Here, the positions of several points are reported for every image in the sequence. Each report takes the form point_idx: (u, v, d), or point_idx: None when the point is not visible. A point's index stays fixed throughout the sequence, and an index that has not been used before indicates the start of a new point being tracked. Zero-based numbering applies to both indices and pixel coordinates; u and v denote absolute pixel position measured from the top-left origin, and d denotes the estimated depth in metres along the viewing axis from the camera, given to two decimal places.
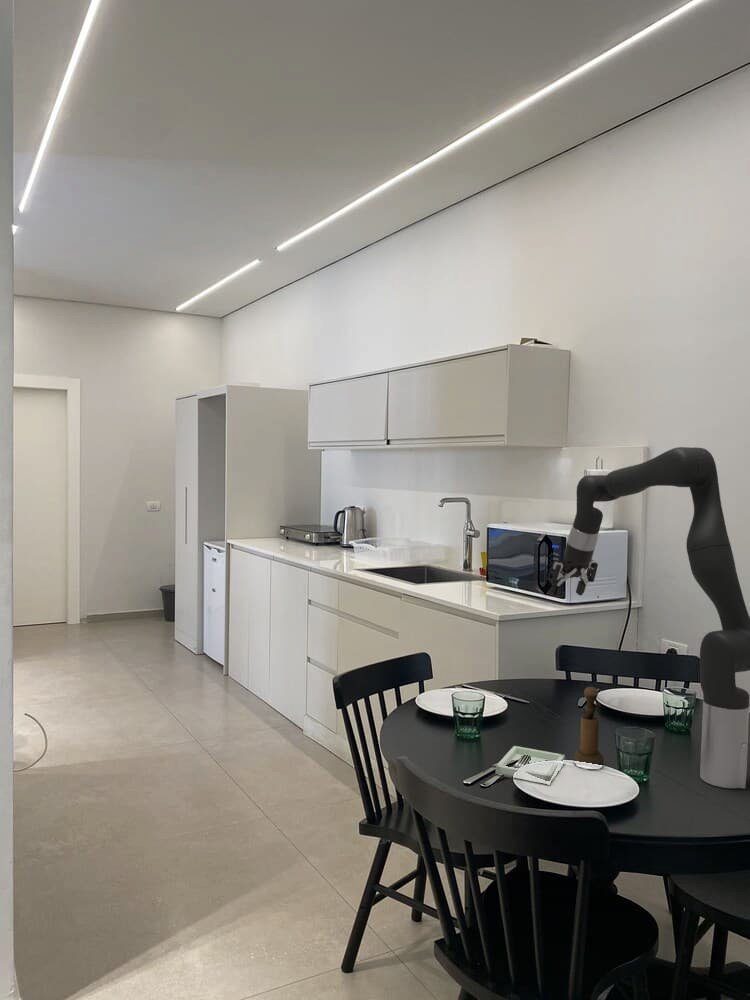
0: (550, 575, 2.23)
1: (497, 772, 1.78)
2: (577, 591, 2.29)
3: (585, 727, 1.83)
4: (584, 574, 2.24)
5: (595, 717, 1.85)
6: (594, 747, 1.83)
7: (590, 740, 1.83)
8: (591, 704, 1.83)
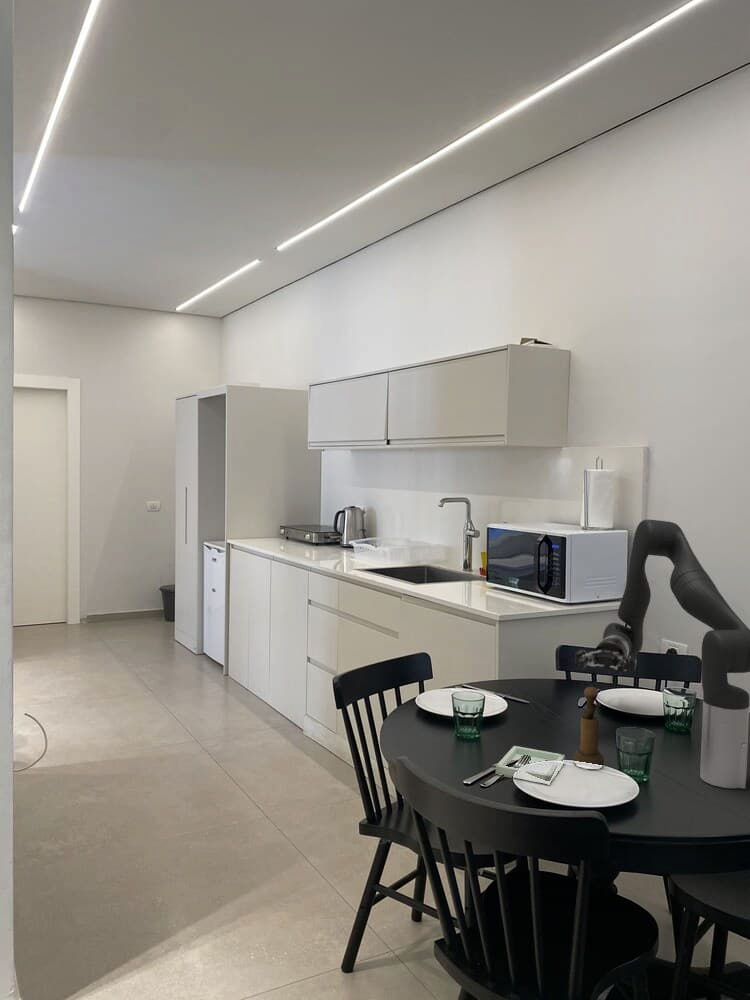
0: None
1: (497, 772, 1.78)
2: None
3: (585, 727, 1.83)
4: (617, 654, 1.99)
5: (595, 717, 1.85)
6: (594, 747, 1.83)
7: (590, 740, 1.83)
8: (591, 704, 1.83)
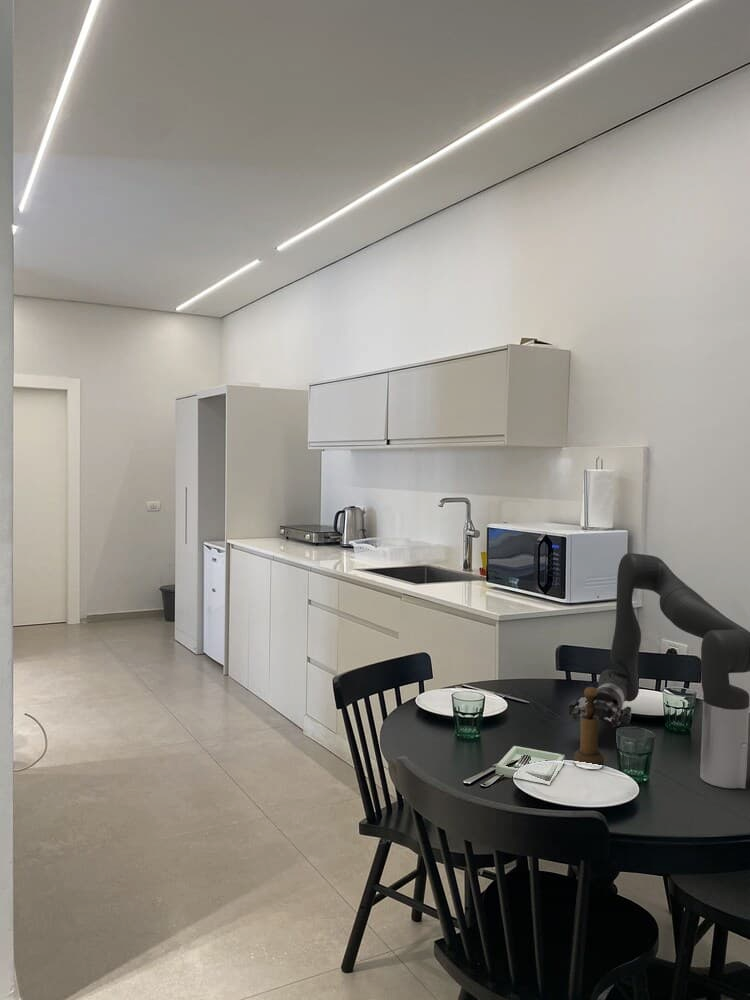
0: None
1: (497, 772, 1.78)
2: None
3: (585, 727, 1.83)
4: (611, 706, 1.94)
5: (595, 717, 1.85)
6: (594, 747, 1.83)
7: (590, 740, 1.83)
8: (591, 704, 1.83)
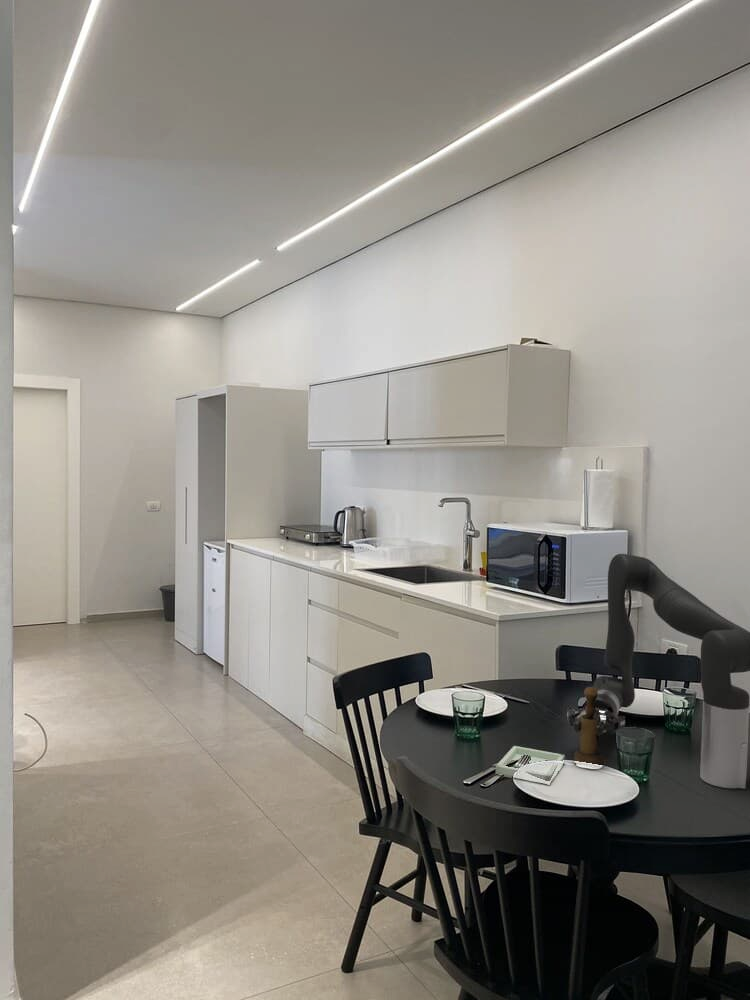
0: None
1: (497, 772, 1.78)
2: (596, 732, 1.82)
3: (585, 727, 1.83)
4: (602, 713, 1.88)
5: (595, 717, 1.85)
6: (594, 747, 1.83)
7: (590, 740, 1.83)
8: (592, 704, 1.83)
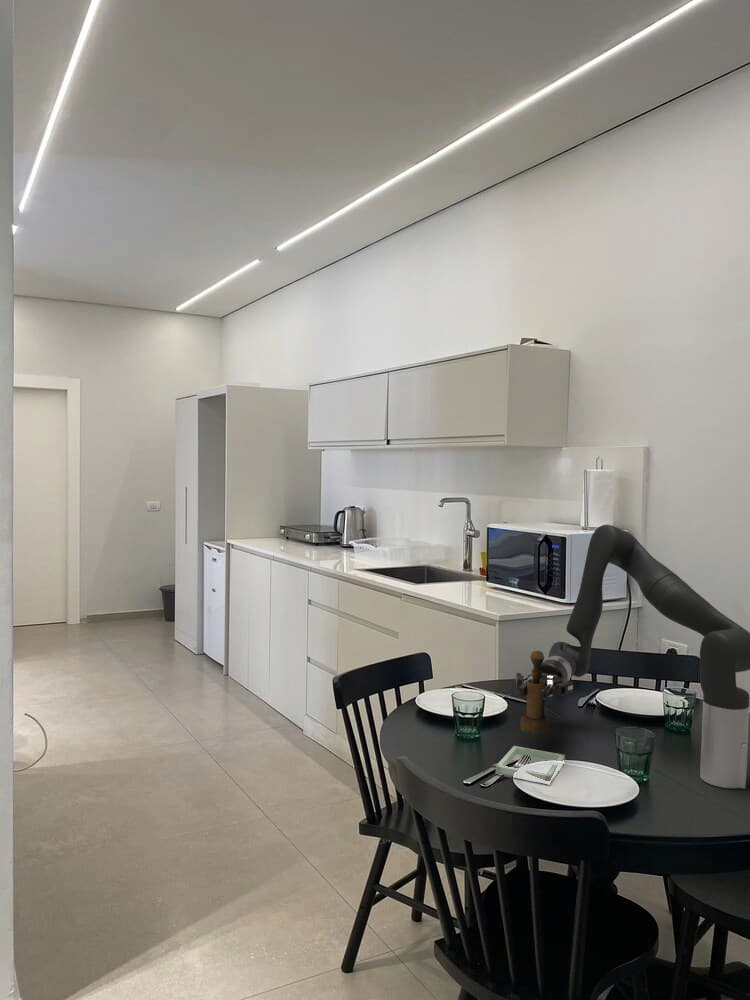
0: None
1: (497, 772, 1.78)
2: None
3: (530, 692, 1.80)
4: (550, 678, 1.85)
5: (542, 681, 1.82)
6: (539, 712, 1.80)
7: (536, 705, 1.80)
8: (538, 668, 1.81)
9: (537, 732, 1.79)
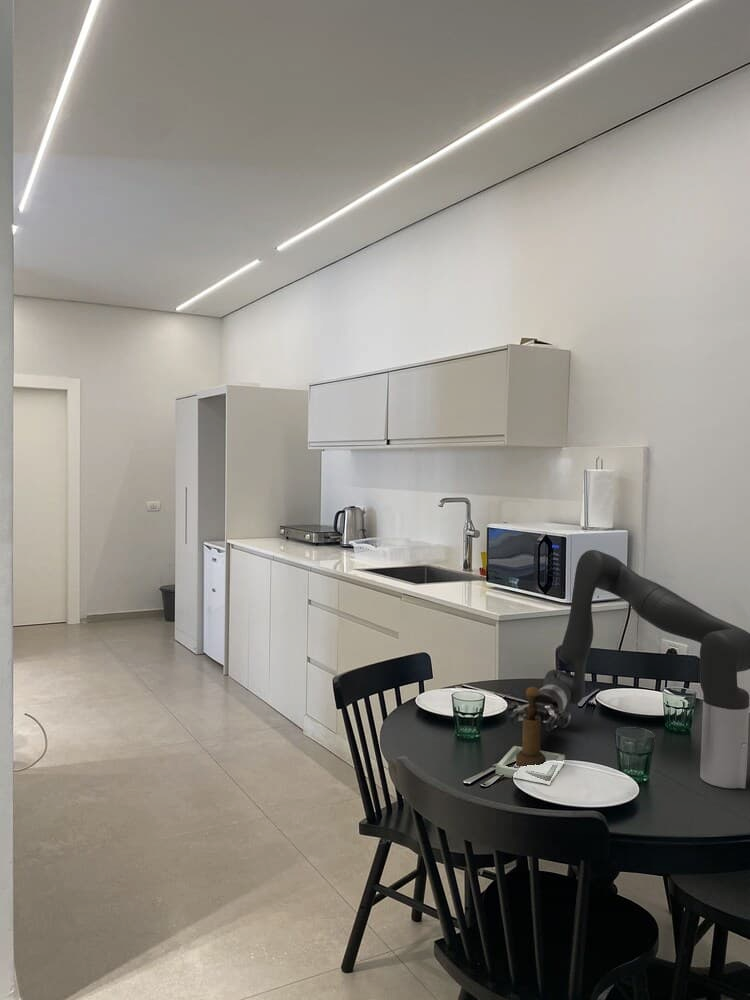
0: None
1: (497, 772, 1.78)
2: None
3: (526, 728, 1.80)
4: (549, 708, 1.85)
5: (537, 718, 1.82)
6: (535, 748, 1.80)
7: (531, 741, 1.80)
8: (533, 705, 1.80)
9: None
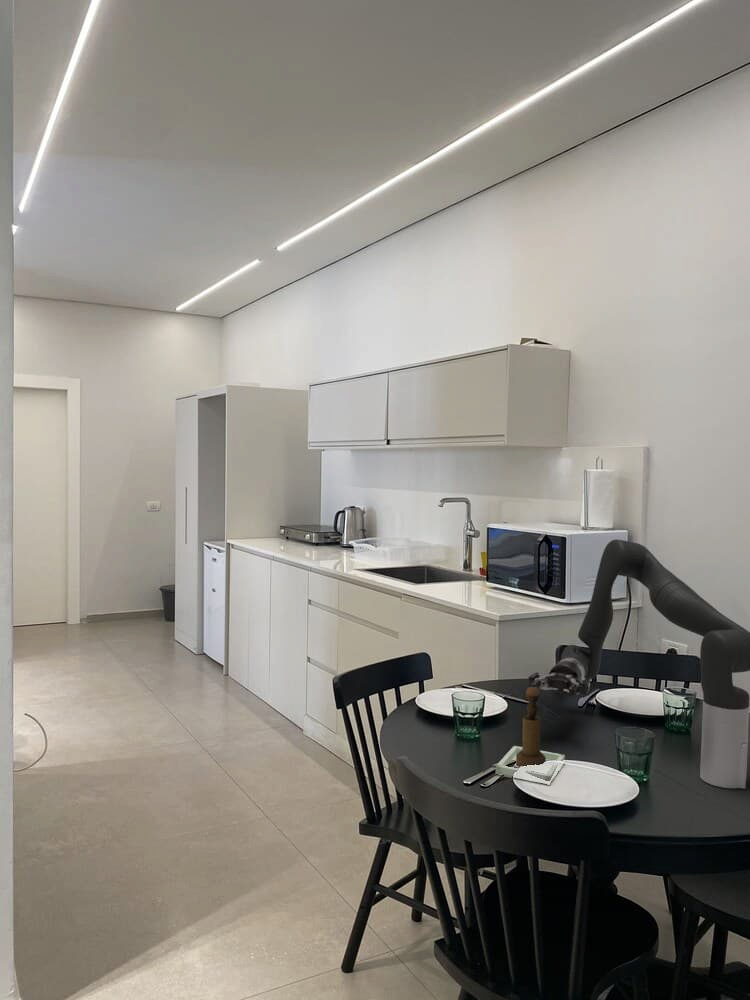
0: None
1: (497, 772, 1.78)
2: (569, 693, 1.90)
3: (526, 728, 1.80)
4: (570, 677, 1.97)
5: (537, 718, 1.82)
6: (535, 748, 1.80)
7: (531, 741, 1.80)
8: (533, 705, 1.80)
9: None
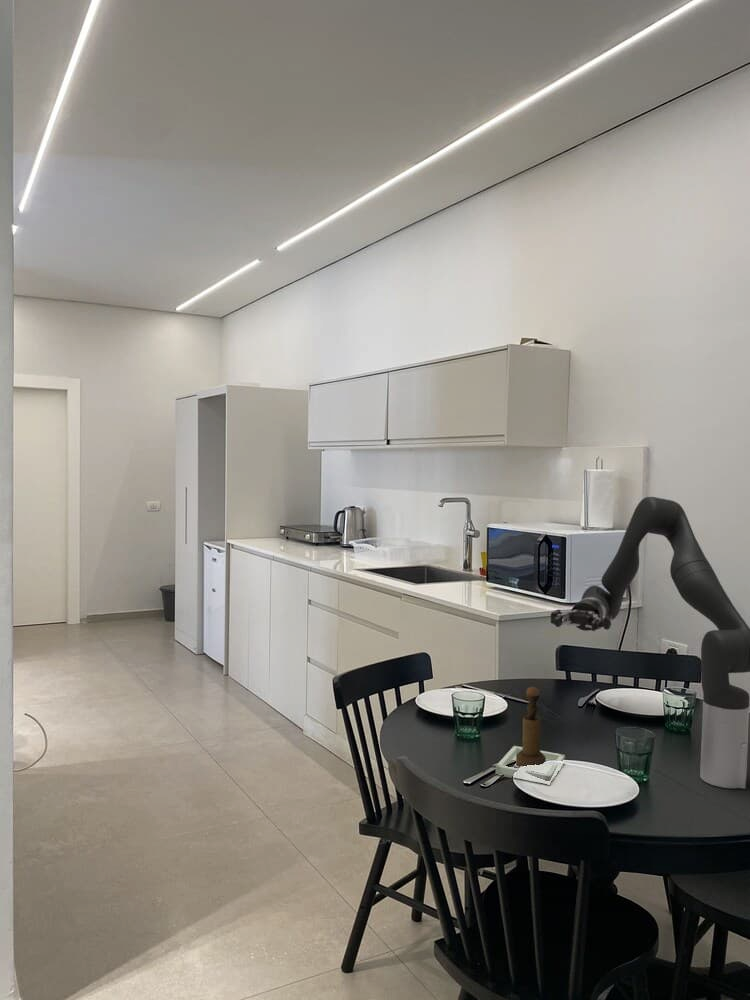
0: None
1: (497, 772, 1.78)
2: (592, 627, 1.93)
3: (526, 728, 1.80)
4: (592, 613, 1.99)
5: (537, 718, 1.82)
6: (535, 748, 1.80)
7: (531, 741, 1.80)
8: (533, 705, 1.80)
9: None
